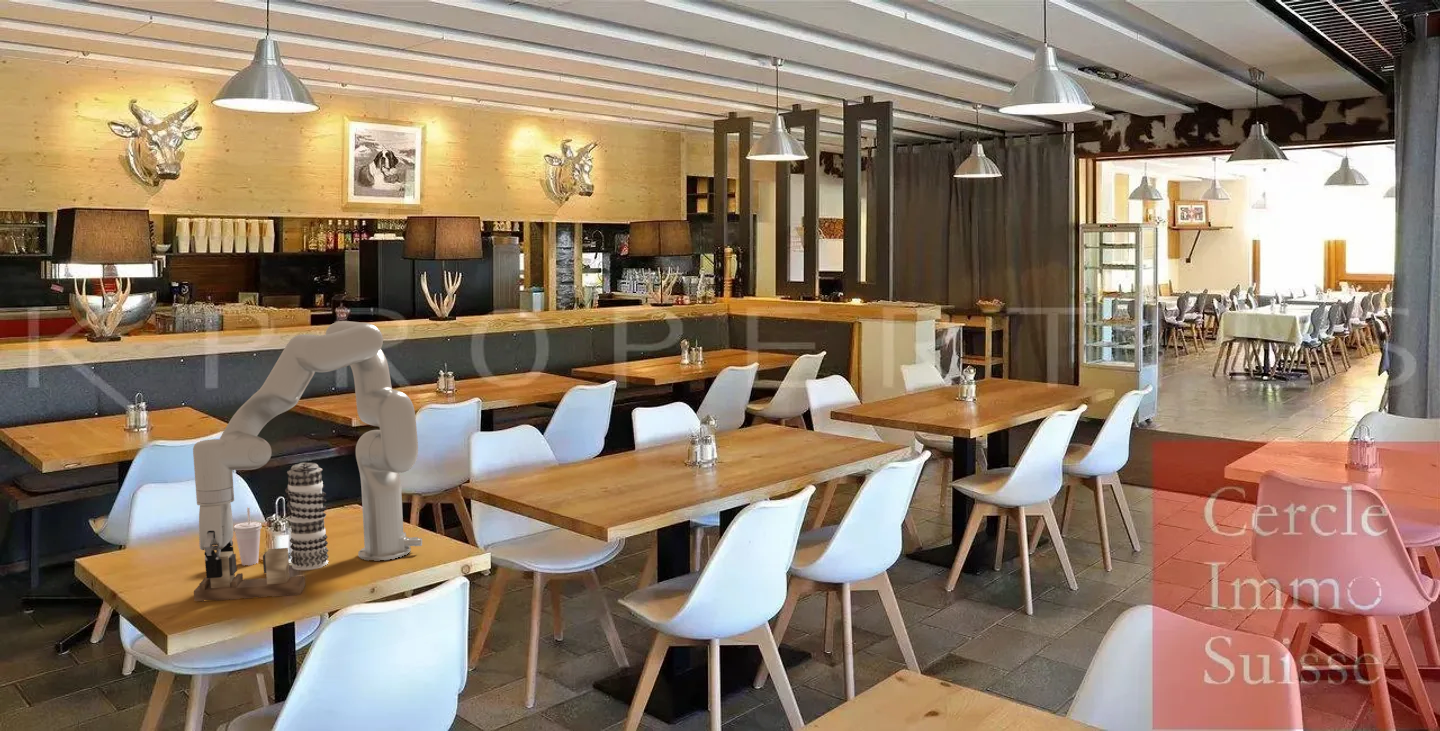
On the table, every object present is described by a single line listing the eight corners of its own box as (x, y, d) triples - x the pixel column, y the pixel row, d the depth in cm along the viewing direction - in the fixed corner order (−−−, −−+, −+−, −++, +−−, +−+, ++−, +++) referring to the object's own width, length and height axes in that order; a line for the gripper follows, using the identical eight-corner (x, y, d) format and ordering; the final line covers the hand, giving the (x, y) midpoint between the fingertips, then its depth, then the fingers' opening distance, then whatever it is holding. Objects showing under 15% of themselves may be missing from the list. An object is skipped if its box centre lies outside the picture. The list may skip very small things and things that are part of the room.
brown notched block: (305, 586, 243) (302, 545, 242) (299, 594, 238) (297, 553, 236) (202, 593, 239) (199, 552, 238) (194, 602, 233) (191, 560, 232)
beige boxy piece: (210, 588, 235) (208, 557, 234) (216, 582, 239) (214, 552, 238) (233, 586, 236) (230, 556, 235) (237, 581, 240) (235, 551, 239)
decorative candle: (289, 562, 262) (282, 462, 259) (328, 557, 266) (323, 459, 263) (290, 572, 254) (284, 470, 251) (331, 567, 257) (325, 466, 254)
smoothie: (253, 567, 258) (249, 511, 256) (230, 566, 259) (226, 510, 258) (269, 560, 264) (265, 505, 263) (246, 558, 266) (242, 504, 264)
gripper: (208, 487, 242) (213, 560, 244) (185, 506, 226) (190, 584, 228) (243, 486, 244) (248, 558, 246) (222, 503, 227) (228, 581, 229)
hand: (220, 570), depth 237 cm, fingers open, 9 cm apart
